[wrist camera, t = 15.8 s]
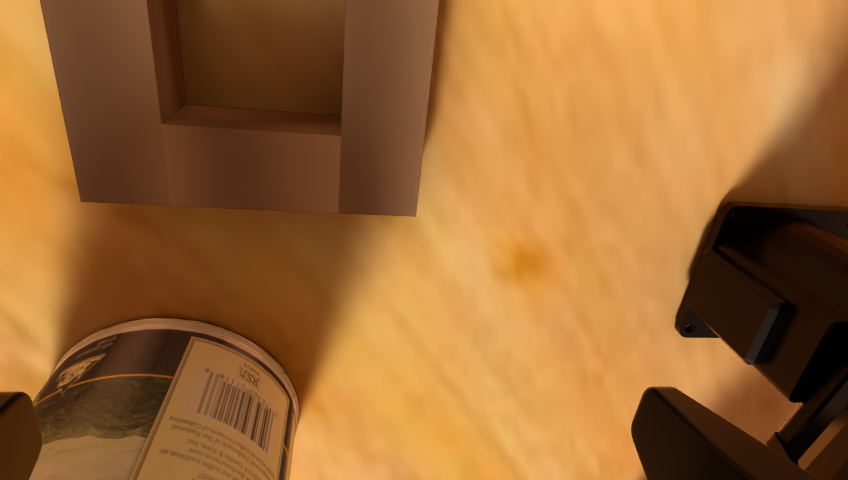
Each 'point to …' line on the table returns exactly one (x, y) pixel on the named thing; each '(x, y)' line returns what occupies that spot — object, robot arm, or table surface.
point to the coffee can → (166, 407)
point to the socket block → (240, 115)
